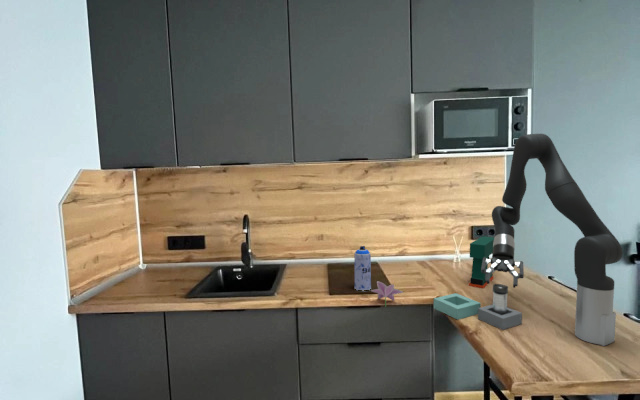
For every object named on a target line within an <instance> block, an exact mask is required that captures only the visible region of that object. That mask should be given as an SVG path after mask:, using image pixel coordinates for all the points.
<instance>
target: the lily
mask: <svg viewBox="0 0 640 400" xmlns="http://www.w3.org/2000/svg"><path fill="white" fill-rule="evenodd" d="M376 284H377V285H376V286H377V288H375V289H371V290H370V291H371V292H372V293H376V294H377V299H380V300H381V299H383V298H384V305H385V307H387V298H388V299H390V300H392V301H395V297H394V295H397V294H403V293H404V291H403V290H400V289H397V288H395V284H390V285H386V284H385V283H383V282H381V281H379V280H378V281H376Z"/></svg>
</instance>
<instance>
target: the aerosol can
mask: <svg viewBox="0 0 640 400" xmlns="http://www.w3.org/2000/svg"><path fill="white" fill-rule="evenodd" d="M371 255H372V254H371V252H370V251H369V250H368V249H367V248H366V247H365V245H361V246H359V248H358V249H356V251H355V252H354V261H353V262H354V263H353V264H354V290H355V289H356V290H355V291H358V290H362V291H361V292H365V291H364V290H369V291H371V290H372V281H371V280H372V279H371V277H372V276H371V275H372V273H371V272H372V267H371V265H372V264H371V263H372V261H371V260H372V259H371ZM370 289H371V290H370Z"/></svg>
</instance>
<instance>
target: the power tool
mask: <svg viewBox="0 0 640 400" xmlns="http://www.w3.org/2000/svg"><path fill="white" fill-rule="evenodd" d="M494 238H495V236H494V237H493V236H480V237H479V238H477V239H476V240H473V241H472V242H470V243H469V258H472V264H471V265H472V266H471V277H469V278H470V280H469V281H470V282H469V283H468V286H469V287H473V288H474V287H475V288H477V289H478V288H479V289H485V287H488V285H489V284H487V282H486V280H485V278H486V274H483V273H482V272H481V267H482V261H483V258H484V257H486V259H490V256H492V253H493V242H494ZM488 265H489V264H488ZM488 265H486V270H487V269H488V268H489V267H488ZM492 280H494V275H493V273H491V274H490V282H492Z"/></svg>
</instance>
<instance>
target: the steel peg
mask: <svg viewBox="0 0 640 400" xmlns="http://www.w3.org/2000/svg"><path fill="white" fill-rule="evenodd" d="M492 292H493V293H492V304H493V312H495V313H497V314H500V315H504V314H507V307H508V293H509V286H507V285H506V284H500V283H494V284H492Z"/></svg>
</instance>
